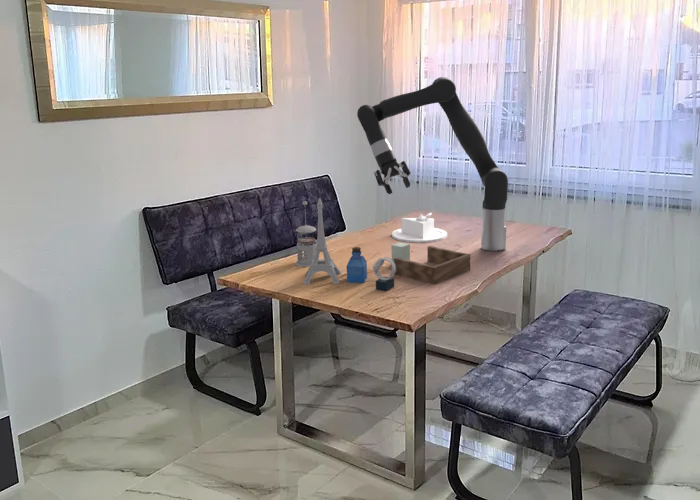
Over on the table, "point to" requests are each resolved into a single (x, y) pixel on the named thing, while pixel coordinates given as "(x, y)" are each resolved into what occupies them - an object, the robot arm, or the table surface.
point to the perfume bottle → (356, 267)
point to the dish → (419, 230)
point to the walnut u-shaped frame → (447, 268)
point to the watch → (384, 282)
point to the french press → (305, 245)
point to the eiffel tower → (327, 262)
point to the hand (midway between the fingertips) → (399, 190)
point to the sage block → (401, 251)
